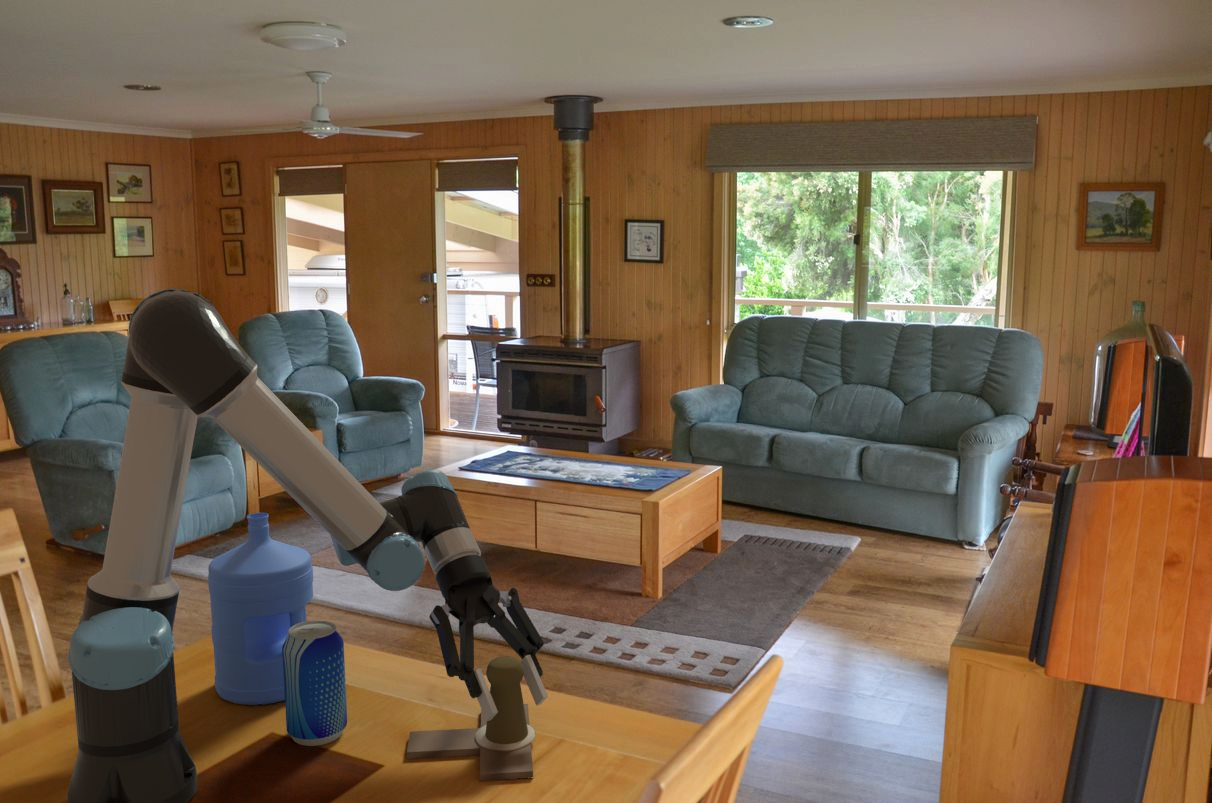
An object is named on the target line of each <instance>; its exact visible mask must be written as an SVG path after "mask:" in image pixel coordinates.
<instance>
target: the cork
mask: <svg viewBox="0 0 1212 803" xmlns="http://www.w3.org/2000/svg"><path fill="white" fill-rule="evenodd" d="M486 667H487V668H486V679H487V681H488V682H489V684H490V688H489V691H490V693H491V696H492V698H493V701H494V703H495V706H496V708H497V711H498V713H497V714H496V715H495V716H494V717H493V719H492V720H490V721H487V724H486V734H485V736H486V738H487V739H488V740H489V741H491V742H493V743H497V744H512V743H516V742H519V741H521V740H523V739H525V738H526V737H527V735H528V728H527V722H526V716H525V710H524V704H525V703H524V698H523V694H522V687H521V682H522V681H523V677H524V675H523V674H524V668H523V665H522V663H521V661H520V660H519V659H518V658H516V657H513V656H500V657H496V658H494V659H492V660H491V661H489V663H488V665H487V666H486Z"/></svg>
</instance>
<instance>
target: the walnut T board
mask: <svg viewBox="0 0 1212 803" xmlns="http://www.w3.org/2000/svg"><path fill="white" fill-rule="evenodd" d="M523 704H524V710H525V716H526V722H527V728H528V735H527V737H526V738H525V739H523V740H521V741H519V742H516V743H512V744H497V743H493V742H491V741H489V740H488V739H487V738H486V736H485V734H486V724H487V722H486V719H485V717H484V714H483V712H482V709H481V708H480V727H473V728H471V727H470V728H454V729H453V728H452V729H451V728H450V729H435V730H434V729H433V730H414V731H413V730H411V731H409V736H408V741H407V742H408V743H407V749H406V759H407V760H413V759H414V760H415V759H429V758H430V759H432V758H450V757H468V756H470V757H471V756H479V782H491V781H506V780H505V779H511V780H518V779H517V778H528V777H530V778H528V779H532V778H531V777H533V778H534V767H533V754H532V753H533V752H532V743H533V742H534V740H535V738H536V732H535V729H534V728H533V727H532V726H531V725H530V716H529V715H530V714H529V703H523Z"/></svg>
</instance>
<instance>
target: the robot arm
mask: <svg viewBox="0 0 1212 803" xmlns="http://www.w3.org/2000/svg"><path fill="white" fill-rule="evenodd" d="M125 351H126V352H125V357H124V358H125V359H124V363H123V370H122V377H121V382H120V384H121V385H122V386H123V388H124V389H125V390H126V392H127V393H128V394H129V395H130V403H129V404H130V405H129V409H128V414H127V416H128V417H127V422H126V426H125V427H126V428H125V434H124V440H123V445H122V452H121V457H120V463H119V469H118V475H117V482H116V485H115V486H116V487H115V492H114V499H113V505H112V510H111V515H110V521H109V522H110V524H109V527H108V534H107V541H106V546H105V551H104V558H103V565H102V569H101V570H99V571H98V572H96V573H95V574H94V575H92V576H91V577H89V578H88V580H87V584H86V591H85V596H84V603H83V608H82V613H81V616H80V618H79V621H78V626H77V627H76V628H75V629H74V631H73V633H72V634H71V636H70V640H69V650H68V657H67V658H68V665H69V667H70V670H71V681H72V692H73V702H74V712H75V723H76V735H77V748H78V753H77V757H76V760H75V764H74V768H73V770H72V771H73V772H72V774H71V778H70V782H69V785H68V789H67V794H66V803H189V802H190V801H191V800H192V798H194V796H195V795H196V793H197V791H198V788H199V786H198V785H199V783H198V772H197V767H196V764H195V762H194V760H193V758H192V756H191V754H190V751H189V749H188V747H187V745H186V743H185V741H184V739H183V737H182V734H181V732H180V727H179V726H180V725H179V715H178V714H179V712H178V711H179V710H178V698H177V696H178V695H177V686H176V685H177V684H176V682H177V681H176V671H175V659H174V658H175V657H174V656H175V655H174V650H175V639H174V638H175V637H174V633H173V630H174V624H175V617H176V613H177V612H176V611H177V607H178V600H179V595H180V589H181V588H180V585H179V583H178V582H177V581H176V580H175V579H174V578H173V577H172V575H171V573H172V566H173V562H174V561H173V560H174V556H175V555H174V554H175V550H176V544H177V538H178V531H179V526H180V522H181V521H180V520H181V516H182V515H181V514H182V511H183V510H182V509H183V503H184V498H185V493H186V492H185V491H186V486H187V480H188V473H189V469H190V463H191V462H190V461H191V457H192V452H193V445H194V440H195V434H196V428H197V423H198V418H200V417H203V418H204V417H205V418H210V419H211V418H212V420H213V421H214V422H215V423H216V424H217V425H218V426H219V427H220V428H221V429H222V430H224V431H225V433H227V435H228V436H230V438H232V440H233V441H234V442H236V443H237V445H238V446H240V447H241V448H242V449H243V450H244V451H245V453H246V454H248V455H249V456H250V458H252V459H253V460H254V461H255V462H256V463H257V464H258V465H259V466H260V467H261V468H262V469H263V470H264V471H265V472H266V473H267V474H268V475H269V476H270V477H271V478H272V479H273V480H274V481H275V482H276V483H277V484H278V485H279V486H280V487H281V488H282V489H283V490H284V491H285V492H286V493H287V494H288V495H289V496H290V497H291V498H292V499H293V500H294V501H295V502H296V503H297V504H298V505H299V506H300V507H301V508H303V510H304V511H305V512H306V513H307V514H309V515H310V517H312V518H313V520H315V521H316V523H318V524H319V526H321V528H323V530H324V531H325V532H327V533H328V534H329V535H330V538H331V541H332V545H333V548H334V551H335V554H336V556H337V559H338V560H339V563H340V564H341V565H343V566H345V567H349V566H352V565H356V564H357V565H359V566H361V567H362V569H363V570H364V571H365V572H367V573H368V574H367V575H368V577H369V578H370V579H371V580H372V581H373V582H374V583H375V584H377V585H378V586H379V587H380V588H381V589H383V590H386V591H388V592H389V591H390V592H400V591H405V590H406V589H408V588H410V587H412V586H413V585H414V584H416V583H417V581H418V580H419V579H420V578H421V576H423V575H422V574H423V573H424V570H425V565H426V564H425V560H426V559H425V555H426V557H427V560H428V563H429V565H430V567H431V570H432V572H433V573H434V575H436V576H435V580H436V583H437V586H438V588H439V590H440V593H441V595H442V598H444V601H445V602H444V603H445V604H442V605H439V604H437V605H435V606H434V608H433V610H431V612H430V614H429V616H428V617H429V619H430V621H431V623H432V624H433V625H434V627H435V629H436V633H437V639H438V640H439V646H440V650H441V654H442V658H443V662H444V666H445V670H446V675H447V676H448V677H449V678H454V677H458V679H459V680H460V681H462V682H463V681H464V684H465V686H466V688H467V691H468V694H469V696H470V697H471V698H472V699H477V701H478V704H479V707H480V710H481V709H482V712H483V714H484V717H485V719H486V722H487V721H490V720H492V719H493V717H494V716H495V715H496V714H497V713H498V711H497V708H496V706H495V703H494V701H493V698H492V696H491V693H490V688H489V686H488V683H487V682H486V679H485V677H484V674H483V671H482V669H481V668H478V669H475V640H474V638H475V636H474V635H475V633H474V630H475V628H474V627H475V626H477V625H478V624H487V625H488V626H489V627H490V628H493V629H494V630H495V631H496V632H497V633H498V634H499V635H500V637H501V638H502V639H503V640H505V642H506V643H507V644H508V645H509V646H510V647H511V649H513V651H514V652H515V653H516V654H517V656H519V658H520V659H521V661H520V662H521V663H522V665H523V668H524V674H523V677H524V679H525V683H526V684H527V687H528V689H529V691H530V694H531V697H532V699H533V701H534V703H535V705H536V706H539V705H542V704H543V703H544V701H546V700H547V698H548V697H549V695H548V693H547V690H546V688H545V686H544V683H543V681H542V679H541V678H542V676H543V673H544V672H543V669H542V666H541V665H540V662H539V660H538V658H537V656H536V655H537V653H538V652H539V651H540V650H541V649H542V648H543V647H544V644H545V643H544V640H543V639H542V637H541V635H540V633H539V632H538V630H537V628H536V627H535V625H534V623H533V622H532V620H531V618H530V617H529V615H528V614H527V611H526V610H525V608H524V606H523V605H522V603H521V601H520V595H519V593H518V590H517V589H516V587H511V588H509V589H510V590H507V591H504V590H501V591H500V590H499V589H498V588H497V587H496V586H495V584H494V583H493V580H492V576H491V572H490V570H489V569H488V565H487V564H486V561H485V559H484V557H483V556H482V552H481V549H480V547H479V544H478V542H477V541H476V538H475V536H474V534H473V532H472V529H471V527H470V525H469V522H468V520H467V518H466V515H465V512H464V510H463V508H462V505H461V503H460V500H459V497H458V493H457V492H456V491H455V489H454V487H453V485H452V483H451V480H449V477H448V476H447V474H446V473H444V472H443V471H441V470H438V469H427V470H422V471H420V472H417V473H416V474H415V475H413V476H410V477H408V478H407V479H406V480H405V481H404V482H403V484H402V486H401V488H400V490H401V492H400V493H401V495H399V496H398V497H397V496H396V497H395V498H392V499H391V498H390V499H388V500H385V501H381V502H379V501H378V500H377V499H376V498H375V497H374V496H373V495H372V494H371V493H370V492H369V491H368V489H366V488H365V487H364V485H363V484H362V483H360V482H359V480H357V479H356V477H354V475H352V473H351V472H350V471H349V470H348V469H347V468H346V467H345V466H344V464H342V463H341V462H340V461H339V460H338V459H337V458H336V457H335V456H334V455H333V454H332V452H331V451H330V450H328V448H327V447H326V446H325V445H324V444H323V443H322V442H321V441H320V440H319V439H318V438H317V437H316V436H315V435H314V434H313V433H312V432H311V431H310V429H308V427H306V426H305V425H304V423H303V422H302V421H301V420H300V419H298V417H297V416H296V415H295V414H294V413H293V412H292V411H291V410H290V409H289V407H287V406H286V405H285V404H284V403H283V401H282V400H280V398H279V397H277V395H275V393H274V392H273V391H272V390H271V389H270V388H269V387H268V386H267V385H266V384H265V383H264V382H263V380H261V379H260V378H259V376H258V364H257V363H256V362H255V361H254V360H253V359H252V357H251V356H249V354H248V353H247V352H246V350H244V349H243V348H242V346H241V345H240V344H239V342H238V341H237V339H236V338H235V337H234V335H233V334H232V332H231V330H230V329H229V327H228V326H227V324H226V322H225V321H224V318H223V317H222V316H221V314H220V313H219V311H218V310H217V308H216V307H215V306H214V305H213V304H212V303H211V301H210V300H208V299H207V298H206V297H204V296H202V295H200V294H199V293H197V292H192V291H189V290H187V289H177V288H170V289H169V288H168V289H163V290H162V289H161V290H159V291H157V292H153V293H152V294H149V295H148V296H146V297H145V298H144V299H142V301H140V303H139V304H138V305H136V308H134V310H133V312H132V313H131V316H130V319H129V324H128V340H127V346H126V350H125ZM420 544H421V545H422V547H423V549H422V547H421V545H420ZM423 550H424V552H425V555H424V552H423ZM499 602H501V604H502V607H504V608H506V609H505V610H506V611H507V614H508V615H509V618H511V620H510V619H509V618H508V617H507V616H506V612H505V611H504V610H503V609H502V607H501V606H500V605H499ZM450 615H451V616H452V617H454V618H455V619H456V620H457V621H458V633H459V653H458V648H457V645H456V641H455V637H454V636H455V635H454V632H453V628H452V624H451V620H450ZM512 622H513V623H512ZM474 669H475V670H474Z"/></svg>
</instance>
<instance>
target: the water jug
mask: <svg viewBox="0 0 1212 803" xmlns="http://www.w3.org/2000/svg"><path fill="white" fill-rule="evenodd" d="M269 517H270V516H269V513H267V512H254V513H250V514H247V516H246V519H247V521H248V525H247V530H248V539H247V541H245V542H244V543H242V544H239V545H238V546H236V547H233V548H232V549H230V550H228V551H225V552H224V553H221V554H220V555H218V556H216V557H215V558H212V560H211V561H210V562H209V564H208V576H207V578H208V579H207V584H208V586H207V587H208V592H209V599H210V613H211V614H210V616H211V626H210V628H211V631H210V632H211V641H212V646H213V658H214V673H215V674H214V687H215V688H214V689H215V691H216V693H217V695H218V696H219V697H220V698H221V699H223V700H225V701H227V702H229V701H230V703H232V702H233V704H237V703H238V704H237V705H244V704H248V706H259V705H258V704H262V705H269V703H270V704H276V703H279V702H285V691H284V673H283V655H282V646H283V644H284V642H285V640H286V638H287V637H288V635H289V634H288V630H289V629H290V628H291V627H292V626H294V625H296V624H299V623H302V622H306V621H307V608H306V606H307V605H308V604H309V603H310V602H311V601H312V599H313V597H314V586H313V585H314V569H313V568H314V567H313V564H312V556H311V554H310V552H308V551H307V550H306V549H304V548H302V547H297V546H295V545H291V544H287V543H284V542H281V541H278V540H275V539H272V538H271V537H270V524H269V521H268V520H269ZM275 702H276V703H275ZM249 704H250V705H249Z"/></svg>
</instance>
